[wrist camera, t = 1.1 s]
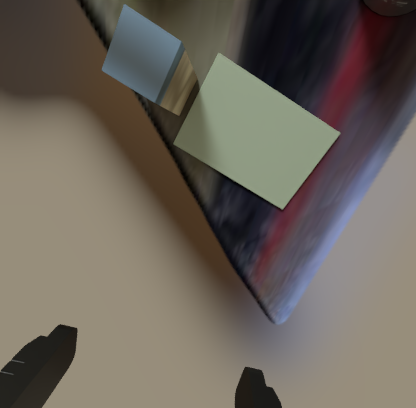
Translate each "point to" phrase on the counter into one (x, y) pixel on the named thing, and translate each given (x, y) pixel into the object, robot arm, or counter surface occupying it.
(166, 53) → the maple block
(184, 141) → the green mat
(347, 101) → the counter surface
